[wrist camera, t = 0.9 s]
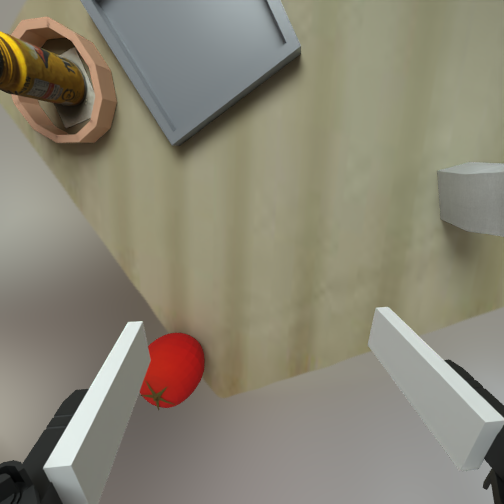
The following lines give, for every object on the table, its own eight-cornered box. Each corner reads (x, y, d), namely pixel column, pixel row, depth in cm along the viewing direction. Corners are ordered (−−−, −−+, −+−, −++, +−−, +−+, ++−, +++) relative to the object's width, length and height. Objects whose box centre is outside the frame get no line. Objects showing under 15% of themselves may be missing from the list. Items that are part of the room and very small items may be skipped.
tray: (211, -141, 26) (203, -169, 24) (300, 53, 31) (300, 45, 28) (90, 3, 32) (75, -8, 30) (179, 145, 37) (171, 145, 35)
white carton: (440, 219, 35) (491, 242, 26) (437, 170, 33) (491, 177, 24) (471, 212, 34) (535, 233, 25) (469, 161, 32) (538, 165, 23)
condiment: (75, 47, 35) (-28, -3, 24) (104, 112, 37) (23, 95, 26) (38, 67, 37) (-74, 31, 26) (67, 128, 39) (-22, 119, 28)
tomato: (179, 371, 55) (148, 428, 44) (148, 330, 52) (106, 381, 41) (225, 356, 51) (204, 415, 40) (195, 312, 48) (163, 362, 37)
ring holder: (66, 1, 33) (45, -12, 30) (134, 107, 36) (120, 103, 34) (9, 74, 38) (-14, 67, 35) (74, 161, 41) (58, 161, 38)
